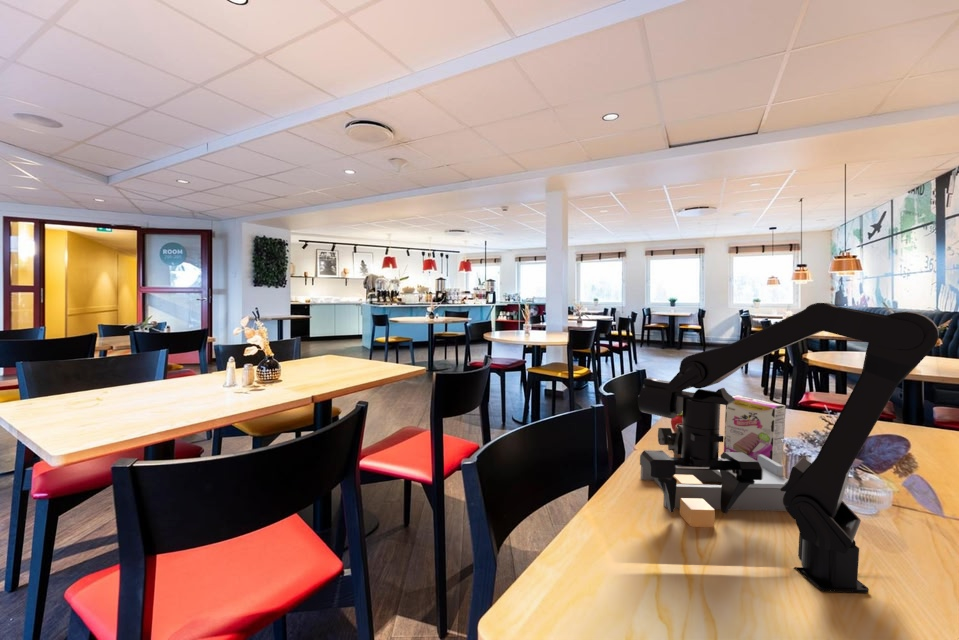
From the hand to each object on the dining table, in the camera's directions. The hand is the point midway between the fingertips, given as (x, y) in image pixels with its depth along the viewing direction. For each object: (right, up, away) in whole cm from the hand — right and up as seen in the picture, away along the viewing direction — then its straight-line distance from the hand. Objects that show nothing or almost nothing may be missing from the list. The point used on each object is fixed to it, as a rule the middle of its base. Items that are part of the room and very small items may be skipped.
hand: (697, 512), depth 72 cm
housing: (+8, -2, +11) cm, 14 cm away
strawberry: (+19, -1, +44) cm, 48 cm away
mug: (+11, -2, +25) cm, 27 cm away
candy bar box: (+27, -2, +25) cm, 37 cm away
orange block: (+2, -1, +8) cm, 8 cm away
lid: (+15, +3, +10) cm, 18 cm away
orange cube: (0, -3, 0) cm, 3 cm away
